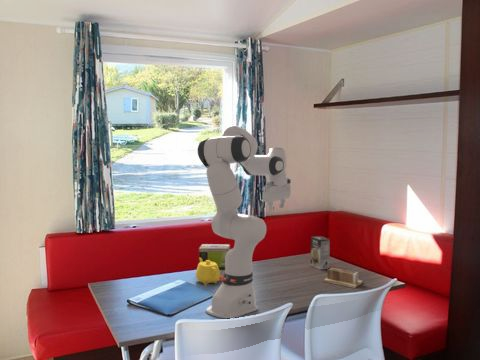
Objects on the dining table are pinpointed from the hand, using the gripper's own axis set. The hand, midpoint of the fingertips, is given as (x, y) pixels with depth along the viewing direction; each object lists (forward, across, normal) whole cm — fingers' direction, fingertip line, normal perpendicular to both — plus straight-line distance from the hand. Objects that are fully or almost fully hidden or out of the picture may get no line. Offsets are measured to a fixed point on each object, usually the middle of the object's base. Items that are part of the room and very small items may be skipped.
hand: (276, 209), depth 232 cm
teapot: (+35, -23, +25) cm, 49 cm away
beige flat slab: (+35, +15, -29) cm, 48 cm away
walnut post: (+32, +15, -22) cm, 41 cm away
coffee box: (+35, +32, -8) cm, 48 cm away
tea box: (+35, -11, +30) cm, 48 cm away
